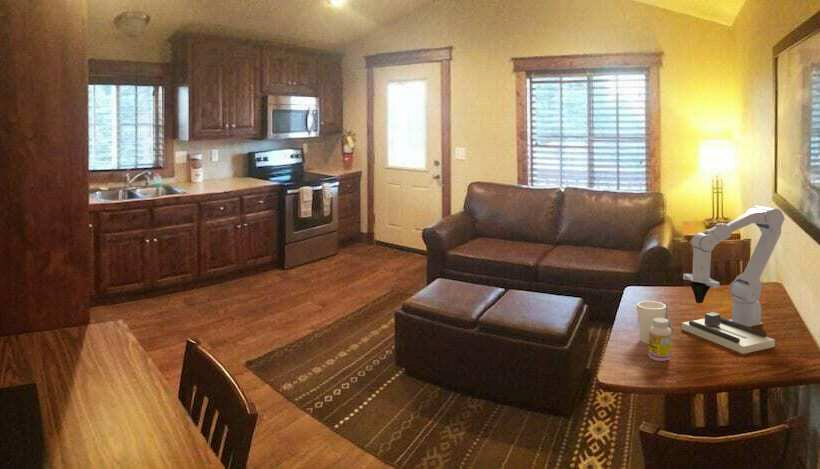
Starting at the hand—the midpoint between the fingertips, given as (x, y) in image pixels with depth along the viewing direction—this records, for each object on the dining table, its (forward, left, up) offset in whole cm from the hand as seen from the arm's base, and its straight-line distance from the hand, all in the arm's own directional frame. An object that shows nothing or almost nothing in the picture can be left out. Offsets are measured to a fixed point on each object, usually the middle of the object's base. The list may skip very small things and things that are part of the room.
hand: (699, 302), depth 217 cm
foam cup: (+25, +3, -10) cm, 27 cm away
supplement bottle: (+33, +16, -10) cm, 38 cm away
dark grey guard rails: (0, +12, -7) cm, 14 cm away
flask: (+13, -4, -10) cm, 17 cm away
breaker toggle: (0, +6, -7) cm, 9 cm away
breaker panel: (0, +12, -9) cm, 15 cm away
